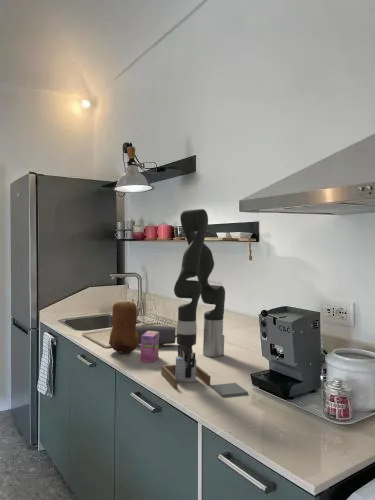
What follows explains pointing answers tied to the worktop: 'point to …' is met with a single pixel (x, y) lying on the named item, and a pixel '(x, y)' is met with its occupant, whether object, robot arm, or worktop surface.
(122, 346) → the butternut squash
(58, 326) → the worktop surface
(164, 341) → the bluetooth speaker
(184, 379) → the medicine box
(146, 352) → the box
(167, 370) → the u-shaped wooden frame
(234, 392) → the coaster
